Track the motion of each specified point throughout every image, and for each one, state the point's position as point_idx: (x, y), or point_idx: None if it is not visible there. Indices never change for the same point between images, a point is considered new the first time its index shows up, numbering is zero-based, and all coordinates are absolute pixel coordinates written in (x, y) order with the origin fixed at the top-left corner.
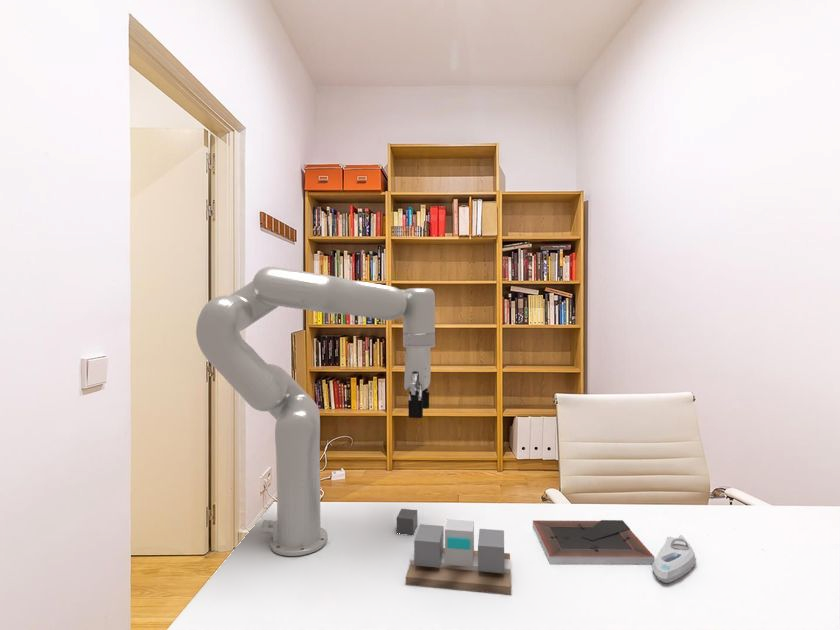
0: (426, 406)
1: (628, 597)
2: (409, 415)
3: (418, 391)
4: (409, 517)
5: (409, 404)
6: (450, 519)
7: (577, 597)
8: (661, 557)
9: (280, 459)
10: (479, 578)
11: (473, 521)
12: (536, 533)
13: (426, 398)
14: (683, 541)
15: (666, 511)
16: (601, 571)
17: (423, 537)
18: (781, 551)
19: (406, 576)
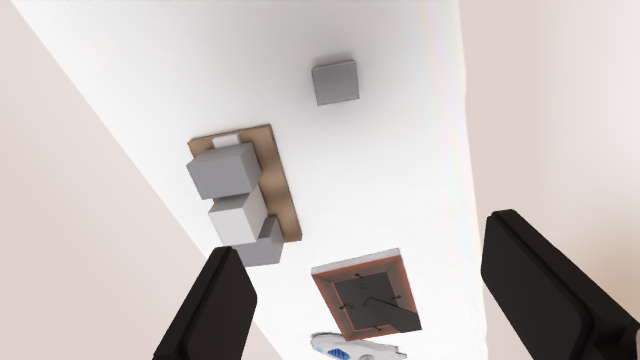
0: (486, 277)
1: (282, 316)
2: (214, 256)
3: (637, 334)
4: (321, 96)
5: (178, 322)
6: (244, 212)
7: (263, 287)
8: (338, 348)
9: None
10: None
11: (254, 241)
12: (376, 254)
13: (523, 330)
14: None
15: (470, 353)
16: (316, 303)
17: (202, 175)
18: None
19: (188, 143)
